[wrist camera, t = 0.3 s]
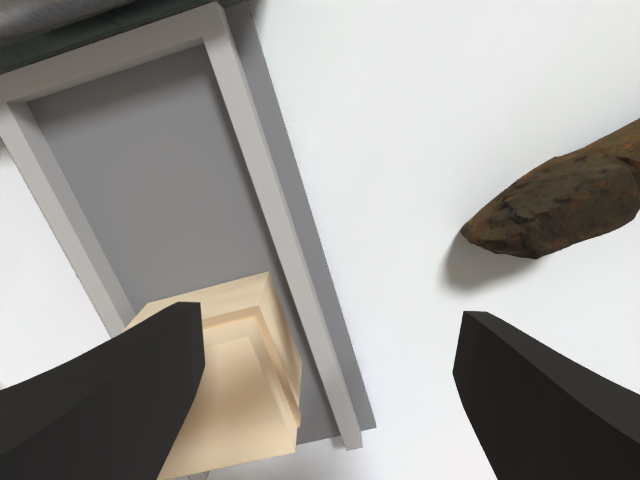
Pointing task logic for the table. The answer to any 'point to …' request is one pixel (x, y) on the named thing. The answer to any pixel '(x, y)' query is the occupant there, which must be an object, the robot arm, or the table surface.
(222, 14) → the crate bay
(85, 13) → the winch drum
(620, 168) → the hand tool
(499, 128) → the table surface
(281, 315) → the block
